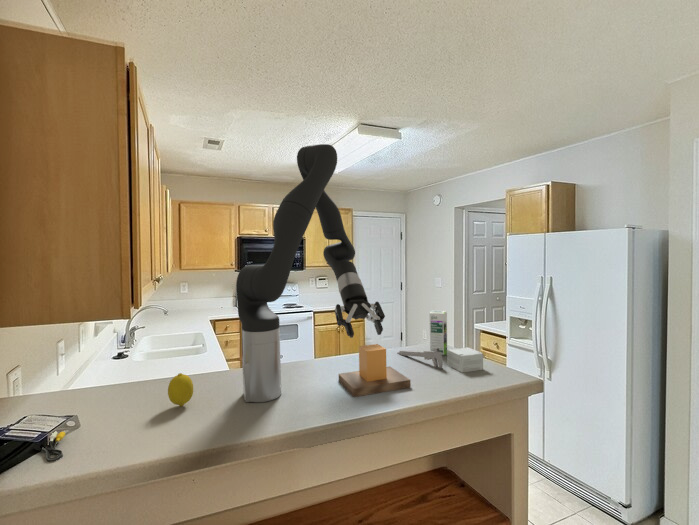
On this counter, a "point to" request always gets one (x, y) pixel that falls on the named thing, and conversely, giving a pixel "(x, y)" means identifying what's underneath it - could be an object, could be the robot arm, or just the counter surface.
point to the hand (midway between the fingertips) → (366, 334)
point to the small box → (465, 359)
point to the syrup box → (438, 331)
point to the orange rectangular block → (372, 362)
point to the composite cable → (52, 444)
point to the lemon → (180, 389)
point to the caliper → (427, 356)
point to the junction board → (373, 383)
